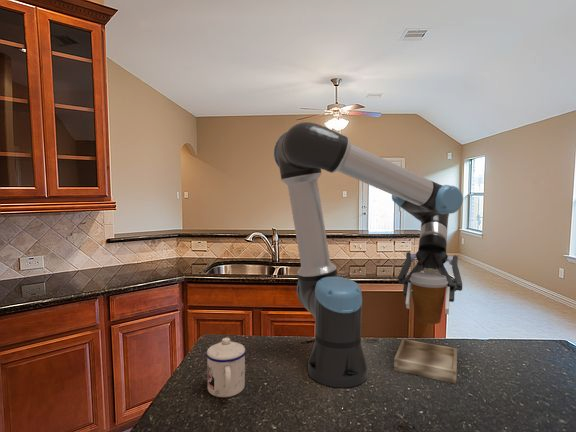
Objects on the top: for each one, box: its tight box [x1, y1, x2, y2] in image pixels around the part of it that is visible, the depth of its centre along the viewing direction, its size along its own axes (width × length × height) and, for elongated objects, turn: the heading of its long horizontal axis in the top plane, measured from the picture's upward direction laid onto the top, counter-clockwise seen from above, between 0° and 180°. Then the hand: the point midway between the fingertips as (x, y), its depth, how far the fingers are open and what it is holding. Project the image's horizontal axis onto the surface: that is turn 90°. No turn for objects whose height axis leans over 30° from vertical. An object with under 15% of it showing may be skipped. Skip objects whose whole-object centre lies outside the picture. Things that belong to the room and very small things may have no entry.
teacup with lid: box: [205, 337, 247, 398], centre depth 78 cm, size 12×9×12 cm
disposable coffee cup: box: [410, 271, 448, 325], centre depth 91 cm, size 10×10×12 cm
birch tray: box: [393, 338, 458, 385], centre depth 92 cm, size 15×15×3 cm
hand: (426, 308), depth 88 cm, fingers closed on disposable coffee cup, 9 cm apart
